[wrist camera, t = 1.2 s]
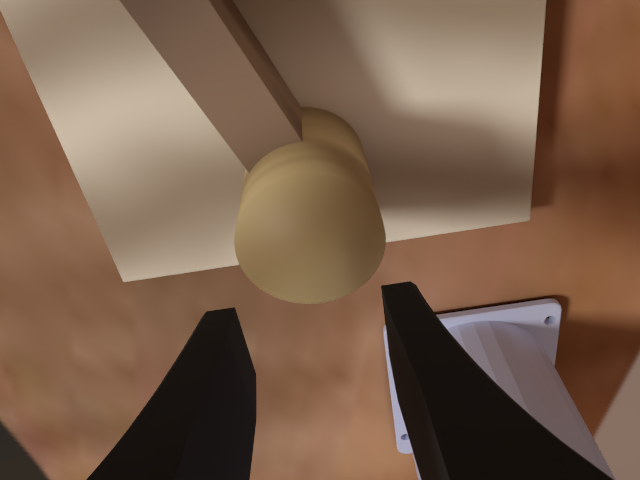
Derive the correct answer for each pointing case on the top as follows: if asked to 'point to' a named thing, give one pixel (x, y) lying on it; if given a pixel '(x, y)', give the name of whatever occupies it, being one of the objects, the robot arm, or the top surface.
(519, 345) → the robot arm
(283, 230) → the friction peg
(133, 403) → the top surface
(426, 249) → the top surface
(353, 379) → the top surface
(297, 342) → the top surface
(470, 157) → the board
